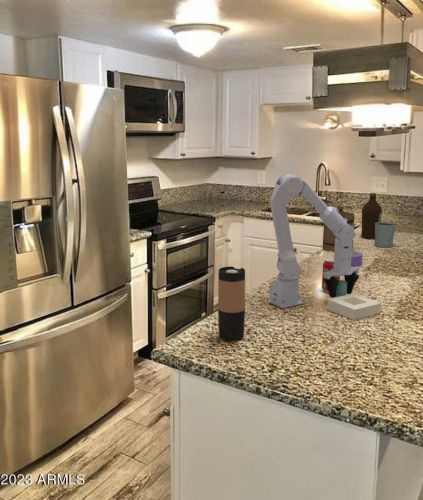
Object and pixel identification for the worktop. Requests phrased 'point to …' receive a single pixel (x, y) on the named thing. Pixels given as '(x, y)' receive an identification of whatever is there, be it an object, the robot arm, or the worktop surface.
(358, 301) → the well block
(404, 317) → the worktop surface
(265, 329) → the worktop surface
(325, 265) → the beverage can
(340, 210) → the wooden container
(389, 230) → the drinking glass
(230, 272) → the travel mug
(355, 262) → the tape roll
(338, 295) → the teal dowel
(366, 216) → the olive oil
